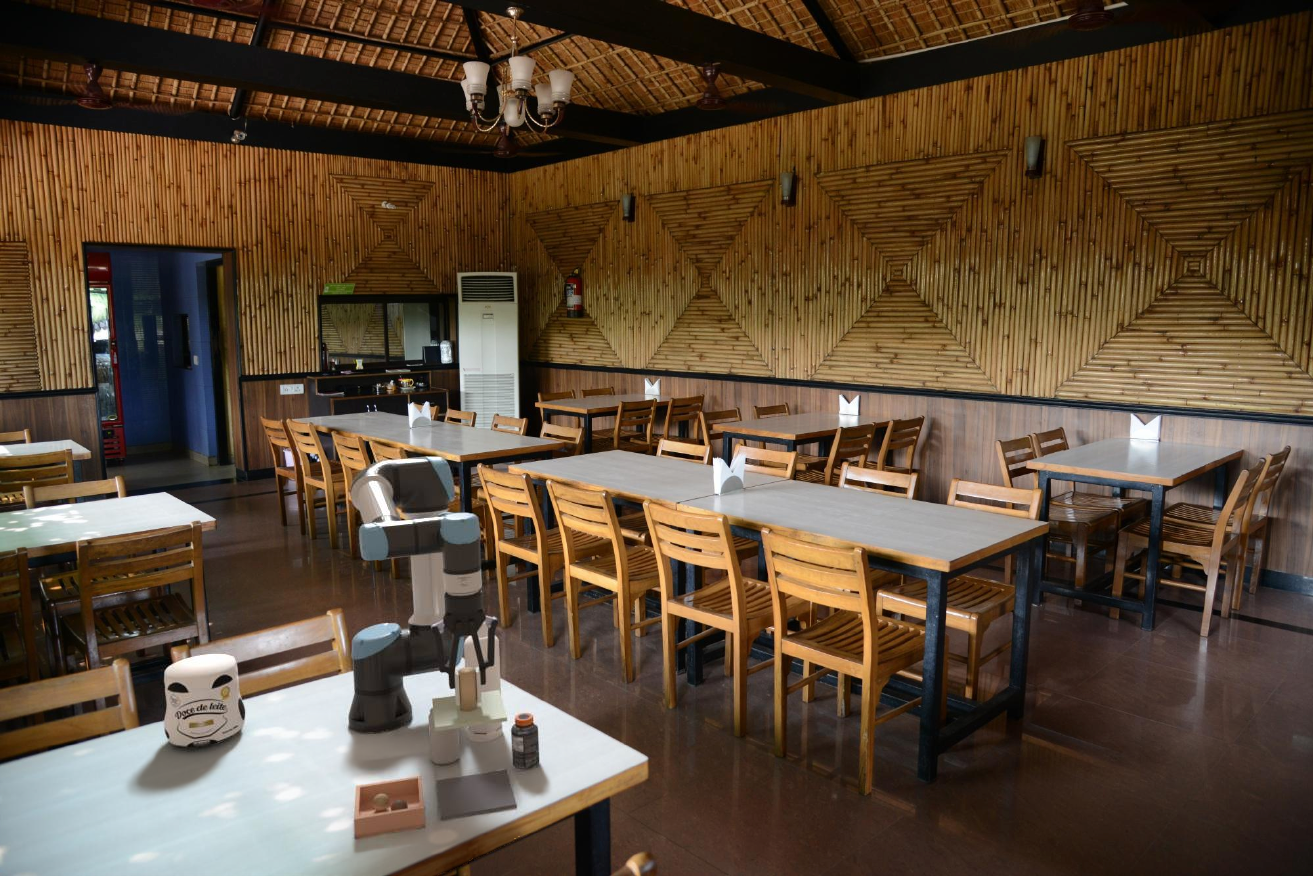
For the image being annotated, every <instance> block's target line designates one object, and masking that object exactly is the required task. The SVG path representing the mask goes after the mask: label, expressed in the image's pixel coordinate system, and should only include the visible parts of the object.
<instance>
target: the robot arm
mask: <svg viewBox="0 0 1313 876" xmlns="http://www.w3.org/2000/svg"><path fill="white" fill-rule="evenodd" d="M455 490H456V489H455V483H454V478H453V473H452V471H451V467H450V465H449V463H448V461H447V460H446V459H445V458H443V457H441V456H428V455H427V456H420V457H408V458H398V459H396V458H395V459H384V460H379V461H375V462H374V463H372V464H370V465H368V466H365V468H363V469H362V470H361V471H359V472H358V473H357V475H356V476H355V477H354V478H353V481H352V482H351V485H350V489H349V496H350V499H351V502H352V505H353V506H354V507H355V509H356V510H358V511H359V514H360V516H361V519H362V522H363V524H362V525H361V526H360V527H359V530H358V537H359V539H358V541H359V548H360V549H359V550H360V554H361V555H360V556H361V559H363V560H364V561H377V560H378V561H383V560H389V559H390V560H391V559H396V558H397V559H398V558H404V557H406V558H407V557H410V566H411V567H410V568H411V582H412V583H411V585H412V597H413V598H412V599H413V600H412V601H413V614H412V615H411V616H410V618H409V619H408V627H407V628H401V626H400V625H399V624H398V623H396V622H390V623H388V622H386V623H385V622H382V623H379V624H374V625H371V626H369V627H365V628H364V629H362V630H361V631H359V632H357V633H356V634H355V635H354V637H353V638H352V641H351V654H350V657H351V659H352V668H353V671H352V672H353V689H354V695H353V698H352V701H351V706H350V709H349V712H348V726H349V728H350V729H351V730H353V731H355V732H357V733H363V734H377V733H379V734H380V733H385V732H389V731H393V730H396V729H399V728H401V727H403V726H404V725H406V724H408V723H409V722H410V721H411V719H413V706H412V704H411V701H410V698H409V696H408V695H407V692H406V689H405V686H404V677H410V676H416V675H422V674H428V673H436V672H440V673H441V674H442V673H446V674H447V675H448V687H449V689H450V690H453V689H454V696H455V701H456V706H457V705H460V693H459V674H458V670H459V669H456V668H457V667H458V666H459V664H461V662H462V658H463V653H464V642H465V637H466V636H467V637H469V636H472V639H473V644H474V648H475V652H476V656H477V660H478V664H479V667H475V669H476V684H477V702H478V703H480V702H481V685H485V684H486V669H487V668H488V667H492V666H494V656H495V636H496V630H497V628H498V624H499V620H498V617H497V616H495V615H494V616H489V615H486V613H485V611H484V605H483V604H484V602H483V601H484V599H483V591H482V588H483V579H482V578H483V577H482V559H481V554H482V553H481V534H482V533H481V529H480V522H479V517H478V516H477V515H476V514H475V513H470V512H455V513H454V512H451V511H449V510H450V503H452V502H454V501H455V499H456V491H455ZM397 507H400V512H401V514H402V515H403V516H404V517H405V518H407V519H403V520H402V518H401V515H400V513H399V511H398V509H397ZM484 621H485V622H486V626H487V627H488V647H487V659H486V660H484V659H483V655H482V651H481V646H480V642H479V638H478V634H477V632H478V630H479V629H480V627H481V626H482V624H483V623H484Z"/></svg>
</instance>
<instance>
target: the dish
mask: <svg viewBox="0 0 1313 876" xmlns="http://www.w3.org/2000/svg"><path fill="white" fill-rule="evenodd" d="M423 788H424V787H423V776H422V775H418V776H411V777H406V778H405V777H404V778H398V779H391V780H386V781H378V782H374V783H367V784H361V785H360V784H359V785H356V786H355V795H354V796H355V797H354V798H355V799H354V800H355V801H354V811H353V812H354V815H353V826H354V839H355V840H358V839H364V838H370V837H375V836H382V835H387V834H391V833H399V832H404V831H410V830H415V829H421V828H426V815H425V813H426V812H425V799H424V789H423ZM378 794H385V795H387V796H388V798H389V805H388V807H387V808H386V809H385V810H382V811H378V810H376V809H375V808H374V807H373V799H374V798H375V796H377V795H378ZM399 799H401V800H404V801H405V802H406V803H407V805H408V808H407V809H401V810H395V811H391V806H392V804H393V803H394V802H395V801H396V800H399Z"/></svg>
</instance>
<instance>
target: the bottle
mask: <svg viewBox="0 0 1313 876" xmlns="http://www.w3.org/2000/svg"><path fill="white" fill-rule="evenodd" d="M477 634H478V638H479V642H480V646H481V651H482V655H483V659H484V660H486V659H487V647H488V627H487V626H486V622H485V621H484V623H483V624H482V626H481V627H480V629H479V630H478V632H477ZM463 653H464V668H465V667H473V668H475V667H479V664H478V660H477V656H476V652H475V648H474V644H473V639H472V636H467V638H465V639H464V647H463ZM500 662H501V660H500V640H499V638H498V636H496V635H495V656H494V666H492V667H488V668H487V669H486V684H485V685H481V692H488V691H496V690H499V691H500V694H501V695H502V690H501V687H502V685H501V683H502V682H501V663H500ZM502 734H503V722H498V723H491V724H483V725H476V726H469V727H467V735H468V738H469V739H470V740H471V741H474V742H481V743H482V742H489V741H493V740H496V739H498V738H499V737H501V736H502Z"/></svg>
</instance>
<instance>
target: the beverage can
mask: <svg viewBox="0 0 1313 876" xmlns="http://www.w3.org/2000/svg"><path fill="white" fill-rule="evenodd" d="M428 730H429V731H428V734H429V749H430V750H429V753H430V760H431V762H433V763H434V764H436V765H440V766H446V765H450V764H453V763H455V762H456V761H457V760H458V759H459V758H460V755H461V753H460V751H461V750H460V733H459V728H455V729H448V730H441V731H435V724H434V713H433V707H431V708H430V709H429V714H428Z"/></svg>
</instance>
